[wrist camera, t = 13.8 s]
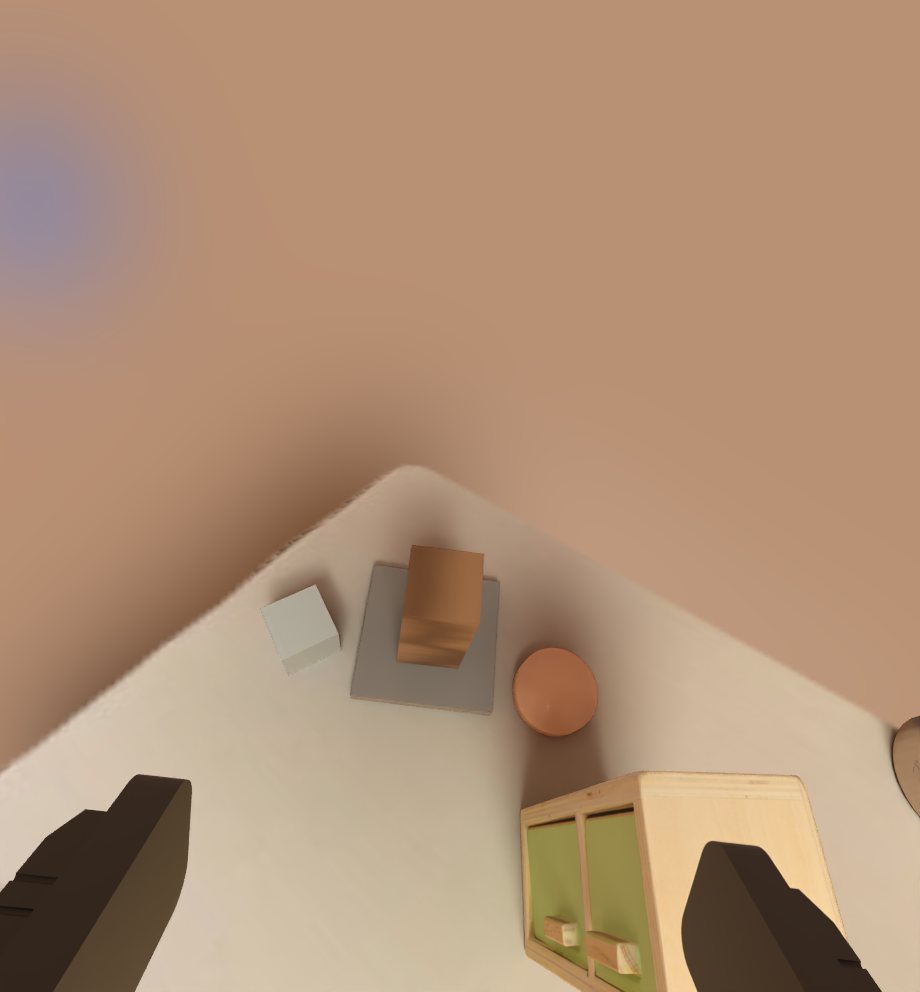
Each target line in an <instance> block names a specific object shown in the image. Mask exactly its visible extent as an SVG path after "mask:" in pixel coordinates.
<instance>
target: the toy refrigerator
mask: <svg viewBox="0 0 920 992" xmlns="http://www.w3.org/2000/svg"><path fill="white" fill-rule="evenodd" d="M520 824H521V850H522V879H523V904H524V933H525V951H526V955H527V956H528V957H529V958H530V959H532V960H533V961H535V962H536V963H538V964H540V965H541V966H543V967H545V968H546V969H547V970H549V971H551V972H552V973H553V974H555V975H557V976H558V977H560V978H561V979H563V980H564V981H566V982H567V983H568V984H570V985H572V986H574V987H575V988H577V989H578V990H580V991H581V992H697V990H696V987H695V985H694V982H693V980H692V977H691V975H690V972H689V970H688V967H687V964H686V960H685V957H684V952H683V946H682V937H681V924H682V917H683V913H684V910H685V906H686V903H687V900H688V896H689V893H690V890H691V887H692V883H693V880H694V877H695V873H696V870H697V867H698V863H699V860H700V857H701V854H702V851H703V848H704V846H705V845H706V844H707V843H708V842H709V841H719V842H728V843H737V844H745V845H754V846H759V847H761V848H762V849H763V850H764V851H766V852H767V854H768V855H769V856H770V858H771V859H772V861H773V862H774V864H775V866H776V867H777V869H778V870H779V872H780V873H781V875H782V876H783V878H784V879H785V881H786V882H787V884H788V885H789V887H790V888H796V889H799V890H800V891H801V892H803V893H804V894H805V895H806V896H807V897H808V898H809V899H810V900H811V901H812V902H813V903H814V904H815V905H816V906H817V907H818V908H819V909H820V910H821V911H822V912H823V913H825V914H826V915H827V916H828V917H829V918H830V919H831V920H832V921H833V922H834V923H835V925H836V926H837V928H838V929H839V931H840V932H841V933H842V935H843V936H844V938H845V939H846V941H847V942H848V940H847V937H846V933H845V929H844V926H843V922H842V919H841V915H840V912H839V908H838V904H837V901H836V897H835V894H834V890H833V886H832V883H831V879H830V875H829V872H828V868H827V864H826V861H825V857H824V853H823V850H822V846H821V842H820V839H819V835H818V831H817V828H816V824H815V820H814V817H813V813H812V809H811V806H810V802H809V798H808V795H807V792H806V789H805V787H804V784H803V783H802V781H801V779H800V778H799V777H798V776H793V775H770V774H739V773H709V772H676V771H638V772H633V773H630V774H627V775H624V776H621V777H617V778H614V779H611V780H608V781H606V782H602V783H599V784H596V785H593V786H590V787H587V788H585V789H582V790H579V791H575V792H572V793H569V794H566V795H563V796H560V797H557V798H554V799H551V800H548V801H545V802H542V803H539V804H536V805H533V806H530V807H527V808H524V809H522V810H521V812H520Z"/></svg>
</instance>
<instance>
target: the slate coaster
mask: <svg viewBox="0 0 920 992" xmlns="http://www.w3.org/2000/svg"><path fill="white" fill-rule="evenodd" d="M408 570H409V569H403V568H395V567H388V566H381V565H375V566H374V571H373V576H372V582H371V587H370V592H369V598H368V603H367V609H366V614H365V619H364V625H363V630H362V635H361V641H360V646H359V651H358V657H357V662H356V668H355V673H354V678H353V684H352V689H351V694H350V696H351V698H352V699H360V700H368V701H376V702H384V703H392V704H400V705H408V706H416V707H424V708H432V709H441V710H449V711H457V712H465V713H473V714H481V715H489V716H490V715H491V713H492V706H493V689H494V672H495V655H496V638H497V622H498V605H499V588H500V582H497V581H489V580H482V597H481V615H480V625H479V627H478V629H477V631H476V633H475V635H474V637H473V639H472V641H471V643H470V645H469V648H468V650H467V652H466V654H465V656H464V658H463V660H462V662H461V664H460V666H459V668H458V669H454V668H445V667H435V666H426V665H417V664H408V663H399V662H397V654H398V647H399V639H400V631H401V624H402V616H403V608H404V601H405V593H406V585H407V578H408Z"/></svg>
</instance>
